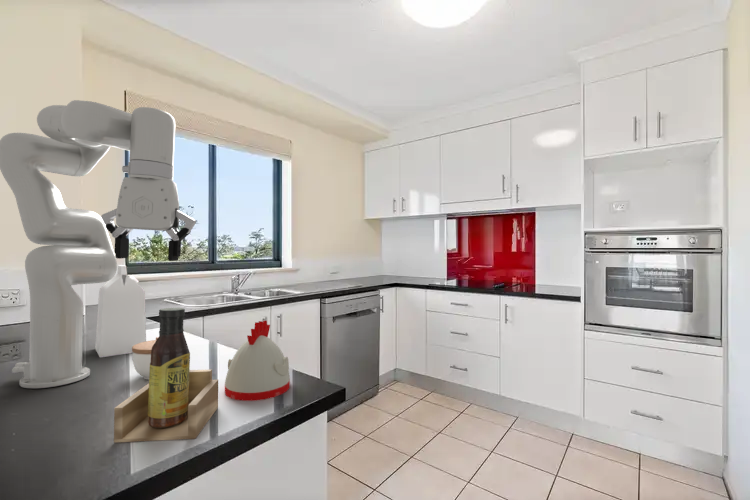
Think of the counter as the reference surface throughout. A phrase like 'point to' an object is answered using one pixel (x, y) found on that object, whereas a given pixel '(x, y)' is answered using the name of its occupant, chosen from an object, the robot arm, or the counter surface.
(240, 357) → the kitchen timer
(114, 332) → the milk
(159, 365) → the sauce bottle
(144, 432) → the oak rest
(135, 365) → the lidded jar
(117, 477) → the counter surface
